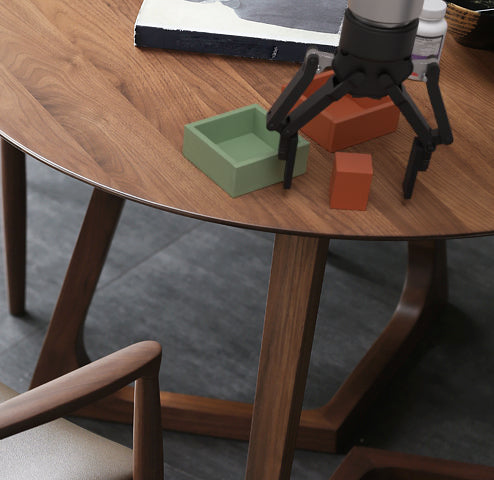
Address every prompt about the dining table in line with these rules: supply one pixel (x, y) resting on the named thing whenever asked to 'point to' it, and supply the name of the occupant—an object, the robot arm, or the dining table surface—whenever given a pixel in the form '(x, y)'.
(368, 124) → the terracotta bin
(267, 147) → the sage bin
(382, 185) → the dining table surface
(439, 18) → the pill bottle
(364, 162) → the red block
